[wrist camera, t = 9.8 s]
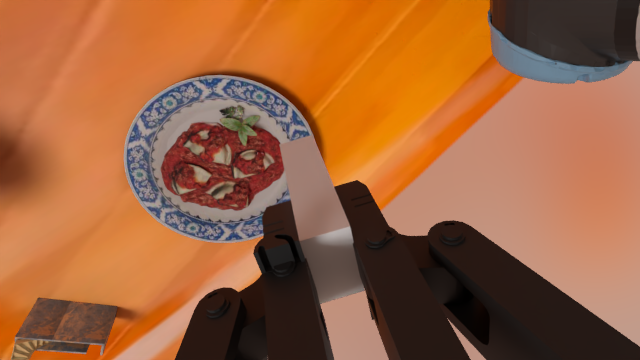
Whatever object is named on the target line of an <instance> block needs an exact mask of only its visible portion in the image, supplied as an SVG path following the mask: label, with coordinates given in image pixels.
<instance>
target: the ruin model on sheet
mask: <svg viewBox="0 0 640 360" xmlns="http://www.w3.org/2000/svg"><path fill="white" fill-rule="evenodd" d="M117 307H118V306H110V305H100V304H91V303H82V302H73V301H63V300H54V299H45V298H38V299H37V301H36V303H35V304H34V306H33V308H32V310H31V311H30V313H29V315H28V316H27V318H26V320H25V321H24V323H23V325H22V326H21V328H20V330H19V331H18V333H17V335H16V336H15V344H14V348H13V353H12V357H11V360H28V359H30V357H31V355H32V353H33V352H34V351H35V350H38V351H53V352H67V353H82V354H86V352H87V350H88V347H89V345H90V344H94V345H102V347H101V353H100V355H102V354H103V352H104V349H105V346H106V343H107V340H108V337H109V334H110V331H111V329H112V326H113V323H114V320H115V317H116V312H117Z"/></svg>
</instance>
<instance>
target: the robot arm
mask: <svg viewBox="0 0 640 360" xmlns="http://www.w3.org/2000/svg"><path fill="white" fill-rule="evenodd" d="M488 23H489V26H490V30H491V48H492V52H493V55H494V56H495V58H496V59H497V61H498V62H499V64H500V65H501V66H503V67H504V68H505V69H507V70H508V71H510V72H512V73H514V74H516V75H519V76H522V77H525V78H529V79H533V80H537V81H543V82H550V83H566V84H569V83H575V82H576V81H577V80H580V81H584V82H596V81H601V80H605V79H608V78H611V77H614V76H616V75H618V74H620V73H621V72H623V71H624V70H625V69H626V68H627V67H628V66H629V64H631V63H632V62H633V61H640V0H490V10H489V11H488ZM279 146H280V150H281V155H282V160H283V165H284V170H285V174H286V179H287V184H288V189H289V194H290V198H291V200H290V201H286V202H283V203H279V204H276V205H272V206H269V207H266V209H265V212H264V214H263V216H262V224H263V234H264V235H263V236H264V238H263V239H261V240H260V241H259V242H258V244H257V245H256V246H255V249H254V253H253V254H254V256H255V258H256V261H257V263H258V265H259V268H260V270H261V273H262V275H261V276H260V278H259V279H258V280H257V281H255V282H254V283H253V284H251V285H250V286H248V287H247V288H245V289H243V290H242V291H240V292H238V291H236V290H234V289H232V288H220V289H216V290H214V291H212V292H210V293H208V294H207V295H206V296H205V297H204V298H202V299H201V300H200V301H199V303H198V305H197V306H196V308H195V310H194V313H193V315H192V318H191V320H190V323H189V325H188V328H187V330H186V333H185V335H184V338H183V340H182V343H181V346H180V348H179V351H178V353H177V356H176V358H175V360H334V357H333V353H332V349H331V345H330V340H329V336H328V332H327V328H326V323H325V319H324V316H323V313H322V309H321V306H320V304H322V303H325V302H328V301H331V300H335V299H338V298H342V297H345V296H348V295H351V294H355V293H358V292H362V291H364V288H365V291H366V294H367V299H368V303H369V308H370V312H371V317H372V320H373V319H374V320H375V323H376V325H377V328H378V331H379V334H380V336H381V339H382V342H383V344H384V347H385V350H386V353H387V355H388V358H389V360H471V359H470V358H469V356H468V354H467V353H466V351H465V350H464V347H463V345H462V344H461V342H460V340H459V339H458V337H457V335H456V333H455V332H454V330H453V328H452V326H451V325H450V323H449V321H448V319H449V320H450V321H451V323H453V325H454V326H455V327H456V328H457V329H458V330H459V331H460V332H461V333H462V334H463V335H464V336H465V337H466V338H467V339H468V341H469V342H470V343H471V344H472V345H473V346H474V347H475V348H476V349H477V350H478V351H479V352H480V353H481V354H482V355H483V357H484V358H485V359H486V360H640V347H639V346H638V345H637V344H635V343H634V342H632V341H631V340H630V339H628V338H627V337H625V336H624V335H623V334H621V333H620V332H618V331H617V330H615V329H614V328H613V327H611V326H610V325H608V324H607V323H606V322H604V321H603V320H602V319H600V318H599V317H597V316H596V315H594V314H593V313H592V312H590V311H589V310H588V309H586V308H585V307H583V306H582V305H581V304H579V303H578V302H576V301H575V300H573V299H572V298H571V297H569V296H568V295H566V294H565V293H563V292H562V291H561V290H559V289H558V288H557V287H555V286H554V285H552V284H551V283H550V282H548V281H547V280H545V279H544V278H543V277H541V276H540V275H538V274H537V273H535V272H534V271H533V270H531V269H530V268H529V267H527V266H526V265H524V264H523V263H521V262H520V261H519V260H517V259H516V258H515V257H513V256H511V255H510V254H509V253H508V252H506V251H505V250H503V249H502V248H501V247H499V246H498V245H496V244H495V243H494V242H492V241H491V240H489V239H488V238H486V237H485V236H484V235H482V234H481V233H479V232H478V231H477V230H475V229H474V228H473V227H471V226H469V225H467V224H465V223H463V222H459V221H443V222H441V223H438V224H436V225H434V226H433V227H431V229H430V230H429V232H428V236H406V235H401V234H398V232H397V231H395V229H393V228H391V227H389V225H388V224H387V222H386V220H385V218H384V217H383V215H382V213H381V211H380V209H379V208H378V206H377V204H376V202H375V200H374V199H373V197H372V195H371V193H370V191H369V190H368V188H367V186H366V185H364V184H363V183H361V182H359V181H358V180H356V181H353V182H349V183H346V184H342V185H339V186H335V187H334V186H333V183H332V181H331V178H330V176H329V173H328V171H327V169H326V166H325V164H324V161H323V159H322V156H321V154H320V152H319V149H318V147H317V144H316V142H315V139H314V137H313V135H311V136H308V137H304V138H300V139H297V140H293V141H290V142H286V143H283V144H279ZM447 318H448V319H447Z"/></svg>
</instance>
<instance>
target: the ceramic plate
mask: <svg viewBox="0 0 640 360" xmlns="http://www.w3.org/2000/svg"><path fill="white" fill-rule="evenodd" d="M311 135H313V133H312V131H311V129H310V127H309V125H308V123H307V121H306V120H305V118H304V117H303V115H302V114H301V113H300V112H299V110H298V109H297V108H296V107H295V106H294V105H293V104H292V103H291V102H290V101H289V100H288V99H286V98H285V97H284V96H282V95H281V94H280V93H278V92H276V91H275V90H273V89H271V88H269V87H267V86H265V85H263V84H261V83H258V82H256V81H253V80H249V79H246V78H242V77H236V76H228V75H209V76H201V77H196V78H191V79H187V80H184V81H181V82H179V83H176V84H174V85H172V86H170V87H168V88H166V89H165V90H163V91H161V92H160V93H158V94H157V95H156V96H154V97H153V98H152V99H151V100H149V101H148V102H147V103H146V104H145V105H144V107H143V108H142V109H141V110H140V111H139V113H138V114H137V116H136V117H135V119H134V120H133V122H132V125H131V127H130V129H129V131H128V134H127V137H126V142H125V147H124V166H125V172H126V176H127V179H128V183H129V185H130V187H131V189H132V191H133V193H134V195H135V197H136V198H137V200H138V201H139V203H140V204H141V205H142V207H143V208H144V209H145V210H146V211H147V212H148V213H149V214H150V215H151V216H152V217H153V218H155V219H156V220H157V221H158V222H159V223H161V224H162V225H164V226H166V227H167V228H169V229H171V230H173V231H175V232H177V233H179V234H181V235H184V236H187V237H189V238H193V239H196V240H201V241H206V242H214V243H233V242H241V241H247V240H251V239H255V238H258V237H261V236H263V235H264V234H263V224H262V216H263V214H264V212H265V209H266V207H269V206H272V205H276V204H279V203H283V202H286V201H290V200H291V198H290V194H289V189H288V184H287V179H286V174H285V170H284V165H283V160H282V155H281V150H280V146H279V144H283V143H286V142H290V141H293V140H297V139H300V138H304V137H308V136H311ZM313 137H314V135H313Z"/></svg>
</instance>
